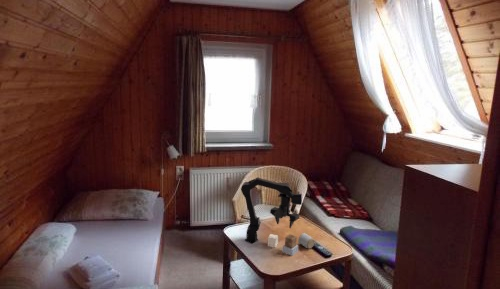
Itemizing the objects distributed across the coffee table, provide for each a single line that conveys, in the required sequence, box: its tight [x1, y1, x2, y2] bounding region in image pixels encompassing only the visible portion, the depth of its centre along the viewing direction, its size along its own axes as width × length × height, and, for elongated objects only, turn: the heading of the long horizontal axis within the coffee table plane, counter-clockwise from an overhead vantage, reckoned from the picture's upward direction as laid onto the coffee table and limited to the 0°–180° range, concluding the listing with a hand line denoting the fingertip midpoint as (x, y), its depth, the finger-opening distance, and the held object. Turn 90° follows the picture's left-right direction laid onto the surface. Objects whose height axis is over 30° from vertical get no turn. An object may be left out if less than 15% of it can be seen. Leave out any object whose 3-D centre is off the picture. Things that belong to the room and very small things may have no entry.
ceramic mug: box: [297, 232, 316, 250], centre depth 214 cm, size 11×8×8 cm
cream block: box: [267, 233, 279, 248], centre depth 214 cm, size 5×5×6 cm
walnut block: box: [284, 233, 298, 249], centre depth 205 cm, size 5×5×6 cm
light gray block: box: [282, 244, 299, 256], centre depth 206 cm, size 7×7×4 cm
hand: (283, 226), depth 214 cm, fingers open, 9 cm apart
